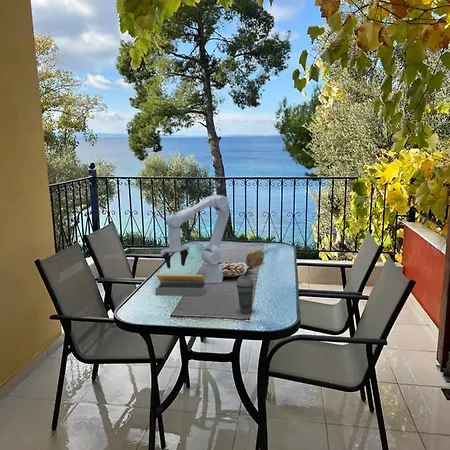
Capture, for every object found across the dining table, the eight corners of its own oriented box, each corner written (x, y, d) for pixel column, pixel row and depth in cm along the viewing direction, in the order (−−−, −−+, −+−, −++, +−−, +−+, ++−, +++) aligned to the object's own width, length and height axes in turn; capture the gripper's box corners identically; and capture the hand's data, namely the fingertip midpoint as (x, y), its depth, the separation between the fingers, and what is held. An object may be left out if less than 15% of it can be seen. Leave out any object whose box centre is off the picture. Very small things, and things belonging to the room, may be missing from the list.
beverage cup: (249, 315, 172) (248, 267, 168) (233, 312, 176) (232, 265, 172) (257, 309, 178) (257, 263, 175) (242, 306, 182) (241, 261, 178)
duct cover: (205, 282, 205) (205, 280, 205) (202, 276, 196) (202, 274, 197) (160, 281, 207) (160, 280, 207) (155, 275, 199) (156, 274, 199)
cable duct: (205, 289, 205) (205, 282, 205) (202, 295, 196) (202, 288, 196) (160, 288, 208) (160, 281, 207) (155, 294, 199) (155, 287, 198)
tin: (249, 269, 237) (249, 254, 235) (245, 268, 238) (244, 254, 237) (264, 263, 248) (264, 249, 247) (259, 262, 250) (259, 248, 249)
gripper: (184, 236, 213) (185, 262, 215) (157, 240, 205) (158, 267, 208) (190, 238, 207) (192, 265, 210) (163, 242, 199) (165, 270, 202)
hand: (176, 266), depth 208 cm, fingers open, 7 cm apart
